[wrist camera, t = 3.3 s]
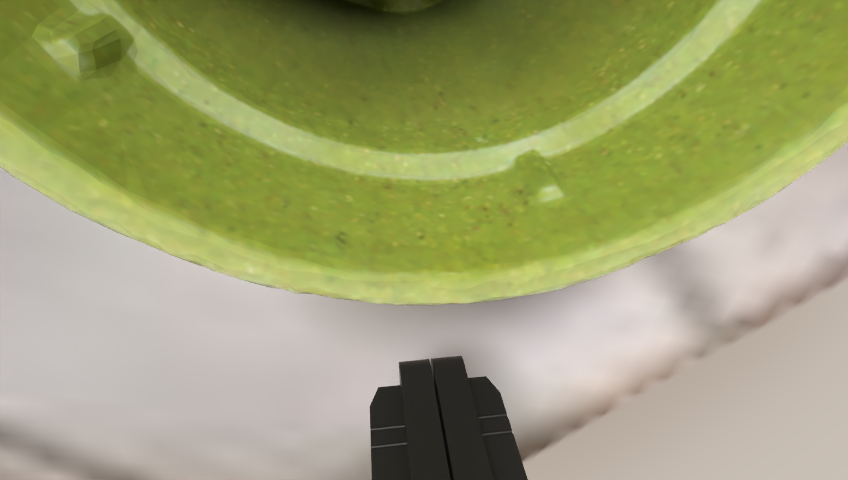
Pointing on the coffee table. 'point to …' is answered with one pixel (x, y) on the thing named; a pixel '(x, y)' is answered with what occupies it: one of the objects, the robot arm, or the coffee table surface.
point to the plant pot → (418, 131)
